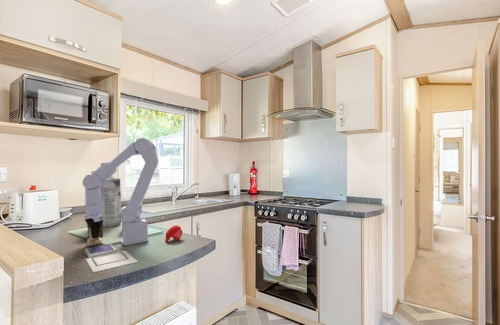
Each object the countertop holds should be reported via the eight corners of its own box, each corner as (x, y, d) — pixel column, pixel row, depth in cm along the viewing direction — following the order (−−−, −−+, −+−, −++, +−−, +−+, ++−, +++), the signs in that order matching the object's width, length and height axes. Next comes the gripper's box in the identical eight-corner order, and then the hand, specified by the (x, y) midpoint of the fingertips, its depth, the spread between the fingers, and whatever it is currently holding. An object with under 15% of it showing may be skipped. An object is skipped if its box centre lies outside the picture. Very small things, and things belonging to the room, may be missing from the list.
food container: (83, 235, 130) (82, 214, 130) (97, 232, 134) (97, 212, 134) (88, 240, 120) (87, 217, 121) (103, 237, 124) (103, 215, 125)
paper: (125, 251, 103) (125, 250, 103) (137, 262, 91) (137, 261, 91) (85, 259, 95) (85, 258, 95) (93, 272, 83) (93, 271, 83)
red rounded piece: (178, 229, 122) (166, 224, 119) (185, 226, 118) (173, 221, 115) (172, 247, 117) (160, 242, 114) (180, 244, 113) (167, 239, 110)
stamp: (99, 242, 116) (99, 223, 116) (101, 245, 112) (101, 225, 112) (87, 245, 113) (87, 225, 113) (89, 247, 109) (88, 227, 110)
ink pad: (111, 247, 109) (111, 243, 109) (116, 252, 102) (116, 248, 102) (84, 252, 103) (84, 248, 103) (88, 258, 96) (88, 254, 96)
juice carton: (112, 227, 144) (111, 176, 144) (95, 227, 146) (94, 177, 147) (123, 223, 153) (122, 175, 153) (107, 223, 155) (106, 176, 155)
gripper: (79, 203, 116) (80, 235, 116) (84, 206, 105) (85, 242, 104) (98, 201, 120) (99, 232, 120) (105, 204, 109) (106, 238, 109)
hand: (94, 236), depth 113 cm, fingers open, 4 cm apart
